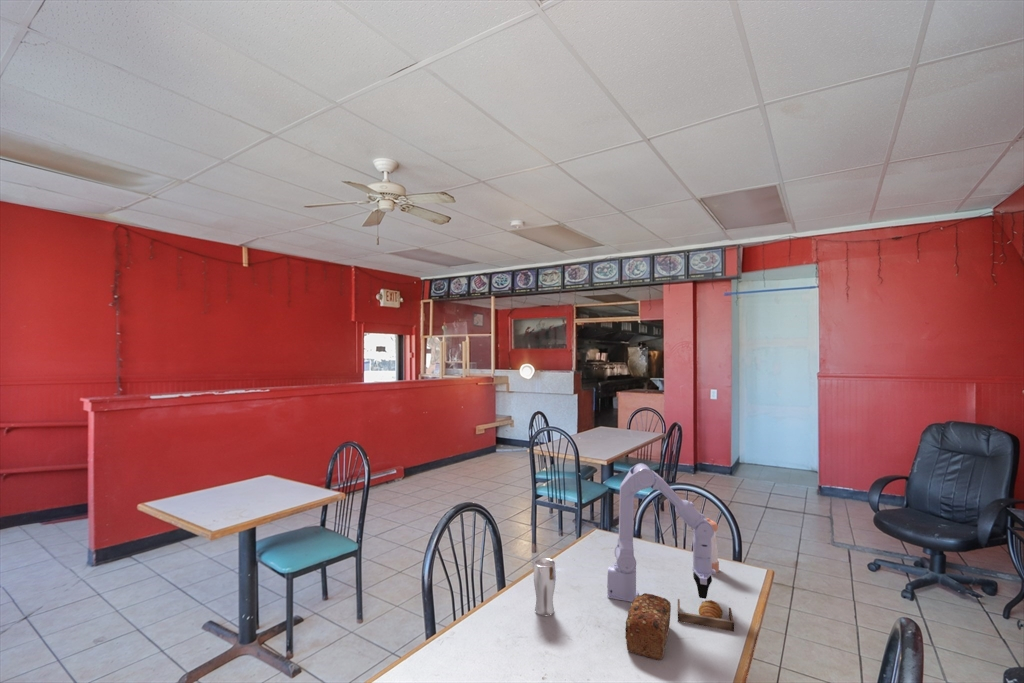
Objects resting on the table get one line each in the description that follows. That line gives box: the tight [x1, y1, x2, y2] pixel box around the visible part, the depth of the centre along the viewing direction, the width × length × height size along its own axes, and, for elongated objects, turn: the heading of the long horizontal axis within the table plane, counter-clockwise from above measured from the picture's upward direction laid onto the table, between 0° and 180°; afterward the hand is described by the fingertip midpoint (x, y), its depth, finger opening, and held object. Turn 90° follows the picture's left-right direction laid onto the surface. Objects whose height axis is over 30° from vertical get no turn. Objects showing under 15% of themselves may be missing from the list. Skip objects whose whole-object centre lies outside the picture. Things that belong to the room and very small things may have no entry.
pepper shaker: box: [705, 517, 720, 574], centre depth 178 cm, size 7×7×19 cm
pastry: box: [698, 599, 724, 619], centre depth 144 cm, size 9×7×4 cm
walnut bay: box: [677, 598, 735, 632], centre depth 143 cm, size 16×9×2 cm, turn 71°
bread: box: [624, 593, 672, 661], centre depth 132 cm, size 19×11×10 cm, turn 155°
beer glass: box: [533, 557, 557, 616], centre depth 147 cm, size 7×7×15 cm
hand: (702, 597), depth 153 cm, fingers closed
